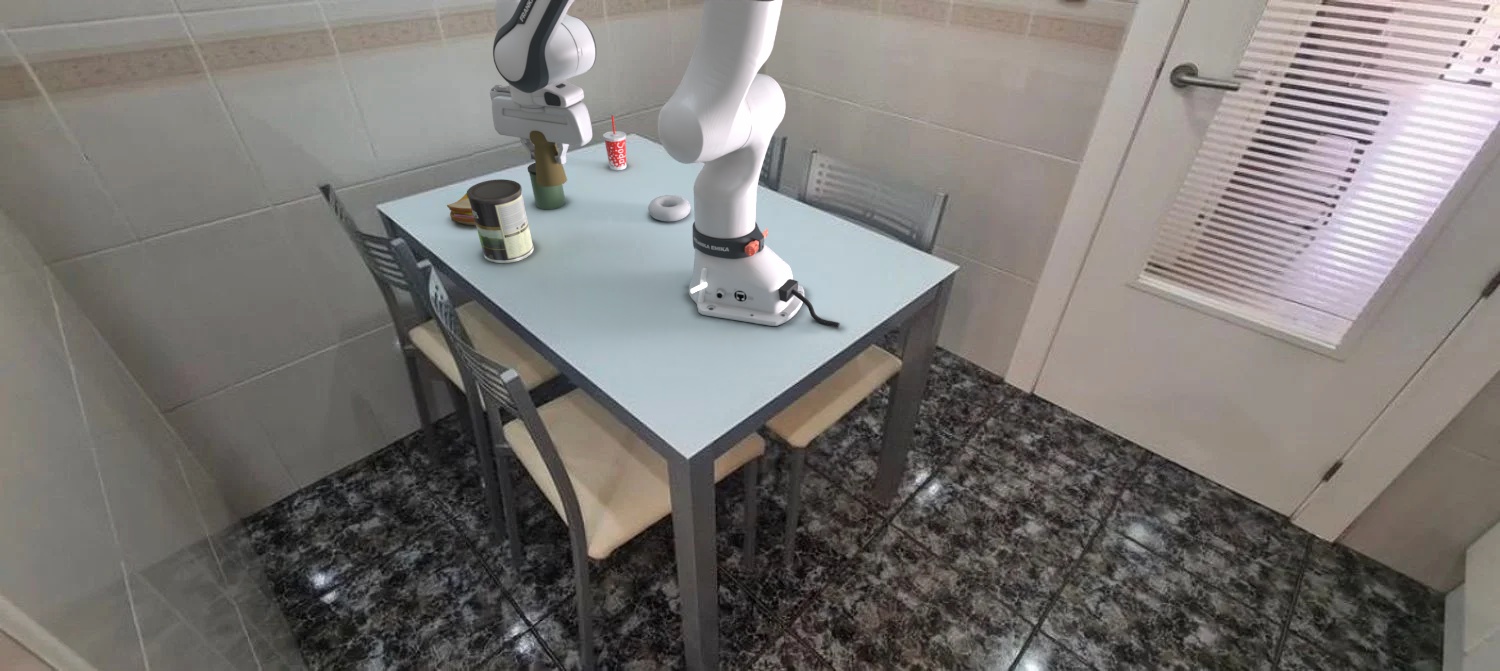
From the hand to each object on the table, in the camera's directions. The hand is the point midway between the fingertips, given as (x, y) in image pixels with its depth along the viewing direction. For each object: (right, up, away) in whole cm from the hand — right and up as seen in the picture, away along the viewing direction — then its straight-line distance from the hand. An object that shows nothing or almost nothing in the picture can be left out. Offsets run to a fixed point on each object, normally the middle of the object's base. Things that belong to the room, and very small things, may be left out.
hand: (548, 161), depth 122 cm
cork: (0, -3, +3) cm, 4 cm away
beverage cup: (+4, +12, +47) cm, 48 cm away
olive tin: (-8, -3, +27) cm, 29 cm away
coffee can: (-11, -17, +8) cm, 22 cm away
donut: (+21, -6, +24) cm, 32 cm away
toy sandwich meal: (-23, -7, +21) cm, 32 cm away
